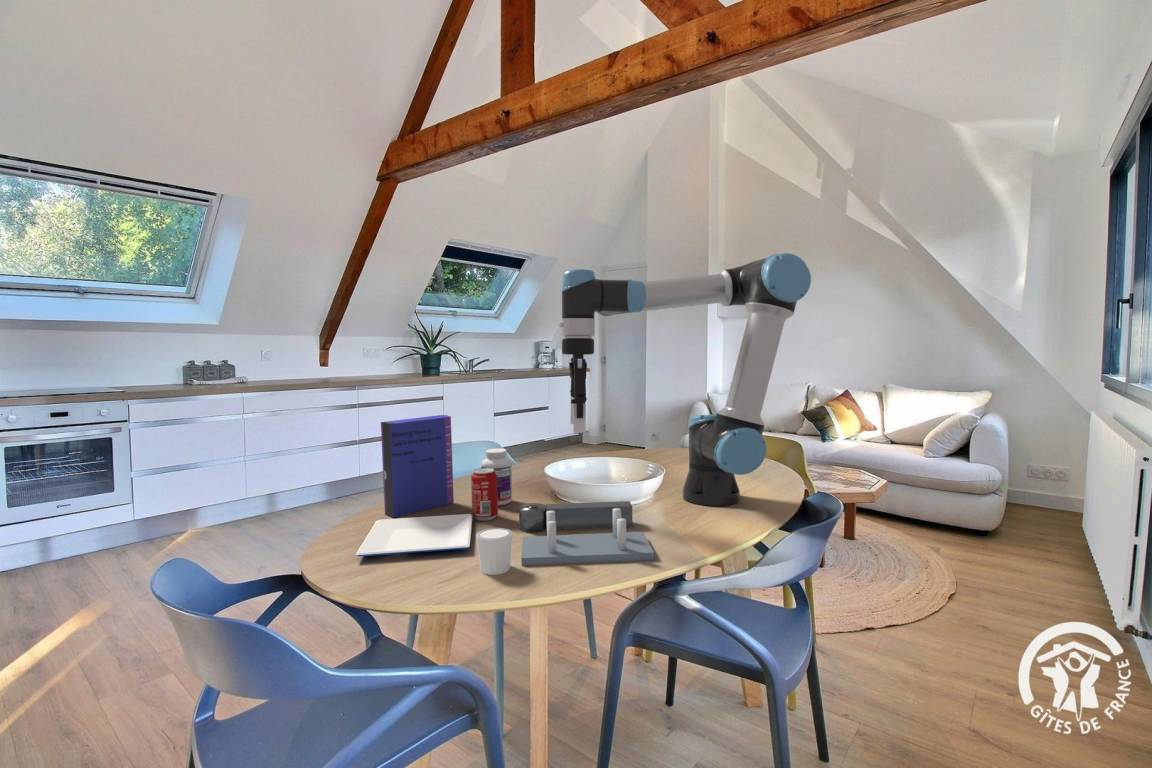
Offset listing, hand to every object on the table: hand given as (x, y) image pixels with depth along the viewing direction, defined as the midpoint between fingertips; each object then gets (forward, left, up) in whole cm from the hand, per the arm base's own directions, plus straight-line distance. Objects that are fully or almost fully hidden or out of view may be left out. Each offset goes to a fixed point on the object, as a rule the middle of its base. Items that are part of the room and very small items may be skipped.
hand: (577, 428), depth 132 cm
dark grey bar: (+1, +2, -23) cm, 23 cm away
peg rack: (0, +18, -23) cm, 29 cm away
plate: (+36, +7, -23) cm, 43 cm away
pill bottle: (+21, -20, -23) cm, 37 cm away
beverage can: (+23, -7, -23) cm, 33 cm away
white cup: (+18, +25, -23) cm, 39 cm away
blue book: (+41, -17, -23) cm, 50 cm away
